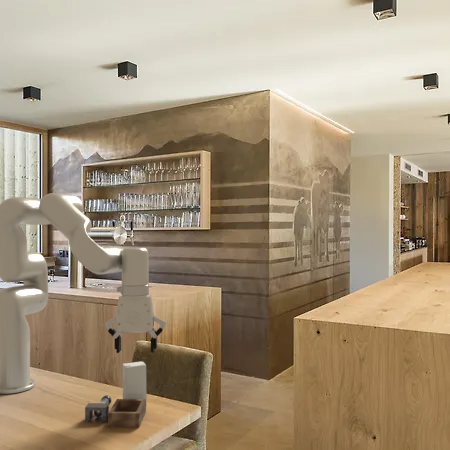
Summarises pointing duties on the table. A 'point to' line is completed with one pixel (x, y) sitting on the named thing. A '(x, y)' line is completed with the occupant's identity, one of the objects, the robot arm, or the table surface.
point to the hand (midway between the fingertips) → (135, 351)
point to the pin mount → (96, 407)
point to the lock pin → (104, 400)
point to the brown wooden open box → (127, 413)
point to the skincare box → (134, 380)
